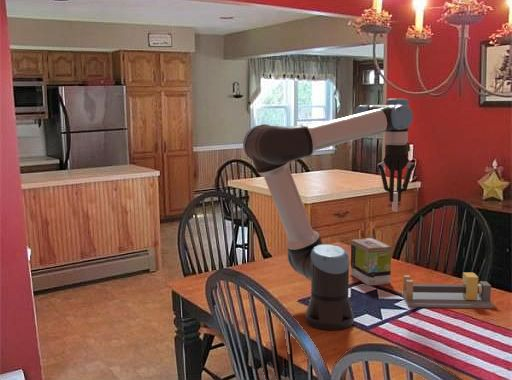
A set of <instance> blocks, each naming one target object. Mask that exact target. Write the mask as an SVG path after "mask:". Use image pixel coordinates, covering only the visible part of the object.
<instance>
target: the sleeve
mask: <svg viewBox="0 0 512 380" xmlns="http://www.w3.org/2000/svg"><path fill="white" fill-rule="evenodd" d="M478 284H479V276H478V275H477V274H476V273H474V272H462V284H461V285H465V286H466V293H462V295H463V296H464V298H465V299H466V300H477V296H478Z"/></svg>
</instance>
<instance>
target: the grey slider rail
mask: <svg viewBox="0 0 512 380" xmlns="http://www.w3.org/2000/svg"><path fill="white" fill-rule="evenodd" d="M402 282H403V283H402V285H403V286H402V291H401V296H402V298H403V300H404V302H405V304H406V306H407V307H408V308H453V309H454V308H456V309H458V308H461V309H495V305H494V303H493V302H491V294H492V293H491V292H492V285H491V284H490V283H489V282H488V281H487V280H486V281H483V280H480V281H479V280H478V296H477V300H466V299H465V298H464V296H463V295H462V293H466V286H465V285H462V284H445V283H443V284H441V283H440V284H439V283H438V284H436V283H435V284H434V283H433V284H432V283H429V284H428V283H414V280H413V279H411V275H408V274H407V275H403V280H402Z"/></svg>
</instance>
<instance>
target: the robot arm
mask: <svg viewBox="0 0 512 380" xmlns="http://www.w3.org/2000/svg"><path fill="white" fill-rule="evenodd" d="M385 101H386V102H385V104H360V105H358V106H357V107H355V109H354V111H353V114H352V115H351V114H350V115H347V116H344V117H340V118H336V119H332V120H328V121H325V122H320V123H316V124H312V125H309V126H307V125H306V124H304V123H302V124H299V125H292V126H291V125H289V126H286V125H285V126H283V125H282V126H281V125H270V124H257V125H255V126H253V127H251V128H250V129H249V130H247V132H246V133H245V135H244V137H243V141H242V144H243V145H242V146H243V147H242V148H243V151H244V153H245V155H246V156H247V157H248V158H249V159H250V160H252V163H253V166H254V168H255V170H256V172H257V174H259V175H262V176H263V177H264V180H265V183H266V185H267V188H268V191H269V192H270V193H269V194H270V195H271V198H272V200H273V203H274V206H275V208H276V210H277V211H276V212H277V213H278V216H279V218H280V221H281V223H282V224H281V225H282V226H283V228H284V232H285V233H286V236H287V239H288V241H287V242H286V245H285V246H286V248H287V260H288V263H289V265H290V266H291V268H292V269H293V270H294V271H295V272H296V273H297V274H299V275H301V276H303V277H305V278H306V279H308V280H309V281H310V300H309V302H308V305H307V308H306V310H305V311H306V312H305V322H306V324H307V325H309V326H310V327H312V328H315V329H319V330H326V331H339V330H344V329H348V328H350V327H352V325H354V322H355V320H354V319H355V317H354V315H355V314H354V311H353V309H352V305H351V302H350V300H349V278H350V276H349V274H350V273H349V272H350V261H349V260H350V258H349V253H348V252H347V250H346V249H344V248H343V247H340V246H339V245H333V244H324V243H323V240H322V238H321V235H320V234H319V232H318V231H316V230H314V229H313V227H312V224H311V222H310V219H309V216H308V214H307V211H306V209H305V206H304V203H303V200H302V197H301V195H300V193H299V190H298V188H297V185H296V181H295V180H294V177H293V175H292V172H291V169H290V164H291V162H293V161H297V160H300V159H304V158H306V157H307V158H308V157H311V156H312V155H313V154H314V152H315V151H319V150H323V149H327V148H330V147H334V146H336V145H341V144H345V143H349V142H352V141H356V140H359V139H363V138H366V137H369V136H374V135H377V134H381V133H384V132H385V139H384V140H385V141H384V142H385V143H386V144H385V145H384V146H385V147H384V158H383V160H382V161H381V162H380V163H377V165H376V167H377V168H378V169H379V172H380V177H381V181H382V185H383V189H384V190H385V192H388V193H389V195H388V201H389V202H390V203H391V211H392V212H395V213H396V212H398V210H399V209H398V207H399V206H398V205H399V203H400V202H401V200H402V193H403V192H406V191H407V190H408V188H409V187H408V186H409V183H410V179H411V176H412V172H413V170H414V168H415V167H416V164H414V163H412V162H411V161H410V159H409V157H408V150H409V149H408V148H409V145H408V144H407V143H408V142H409V127H410V126H411V125H412V123H413V119H414V114H413V113H414V112H413V110H412V109H411V108H410V105H409V103H410V102H409V100H408V99H407V98H387V99H386V100H385ZM385 166H386V167H385ZM385 168H387V169H388V170H389V183H388V179H387V176H386V171H385ZM405 168H407V169H406V173H405V176H404V180H402V179H403V170H404V169H405ZM395 171H396V173H395ZM395 174H396V191H395ZM402 182H403V183H402Z"/></svg>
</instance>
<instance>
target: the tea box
mask: <svg viewBox="0 0 512 380" xmlns="http://www.w3.org/2000/svg"><path fill="white" fill-rule="evenodd" d="M391 265H392V246H391V245H389V244H387V243H385V242H382V241H380V240H378V239H376V238H373V237H368V238H367V237H366V238H356V239H351V241H350V275H351V276H353V277H355V278H356V279H357V280H359V281H361V282H362V283H364V284H365V285H367V286H378V285H387V284H390V283H391V273H392V271H391V270H392V266H391Z"/></svg>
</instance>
